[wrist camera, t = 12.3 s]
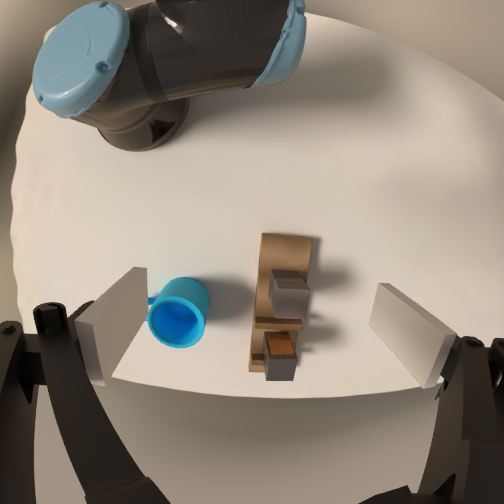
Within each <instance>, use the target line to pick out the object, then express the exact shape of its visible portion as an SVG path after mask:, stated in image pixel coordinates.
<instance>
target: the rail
mask: <svg viewBox="0 0 504 504" xmlns="http://www.w3.org/2000/svg"><path fill="white" fill-rule="evenodd" d="M311 245H312V239H311V238H309V237H300V236H288V235H276V234H264V233H262V236H261V246H260V257H259V267H258V277H257V288H256V298H255V308H254V318H253V328H252V338H251V347H250V357H249V372H265V370H264V364H263V357H262V345H263V336H264V331H266V332H288V333H289V336H290V339H291V342H292V345H293V347H294V350H295V347H296V341H297V336H298V330H302V328H303V323H302V321H301V318H305V315H306V310H307V304H308V297H309V291H310V289H309V288H308V287H307V285H306V281H307V274H308V267H309V260H310V252H311Z"/></svg>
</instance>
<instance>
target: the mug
mask: <svg viewBox="0 0 504 504" xmlns="http://www.w3.org/2000/svg"><path fill="white" fill-rule="evenodd" d="M152 304H153V305H152ZM209 304H210V300H209V295H208V293H207V291H206V289H205V288H204V287H203V286H202V285H201V284H200V283H199V282H197V281H196V280H194V279H191V278H186V277H182V278H176V279H174V280H171V281H170V282H169V283H168V284H166V285H165V287H164V288H163V290H162V291H161V293H160V294H159V296H158V297H149V298H148V305H152V306H151V308H150V310H149V314H148V316H147V318H146V319H145V321H148V324H149V328H150V330H151V332H152V333H153V335H154V336H155V337H156V338H157V339H158V340H159V341H160V342H161V343H163V344H165V345H167V346H170V347H174V348H186V347H189V346H192V345H194V344H195V343H197V342H198V341H199V340H200V338H201V337H202V335H203V333H204V328H205V324H206V319H207V314H208V309H209Z"/></svg>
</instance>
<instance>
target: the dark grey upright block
mask: <svg viewBox="0 0 504 504" xmlns="http://www.w3.org/2000/svg"><path fill="white" fill-rule="evenodd" d="M262 357H263V364H264V370H265V377H266V381H293V379H294V374H295V369H296V364H297V356H296V353H295V350H294V347H293V345H292V342H291V339H290V336H289V333H288V332H266V331H264V336H263V345H262Z"/></svg>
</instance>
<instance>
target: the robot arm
mask: <svg viewBox="0 0 504 504" xmlns="http://www.w3.org/2000/svg"><path fill="white" fill-rule="evenodd" d="M304 11H305V3H304V0H155V2H151V3H148V4H145V5H141V6H138V7H134V8H131V9H128V10H125V9H124V8H123V7H122V6H120V5H118V4H115V3H108V2H106V1H99V2H94V3H90V4H87V5H85V6H83V7H81V8H79V9H77V10H76V11H74V12H73V13H71V14H70V15H68V16H67V17H66V18H65V19H64V20H63V21H62V22H60V23H59V24H58V25H57V26H56V27H55V29H54V30H53V31H52V32H51V34H50V35H49V37H48V39H47V40H46V42H45V43H44V44H43V46H42V48H41V50H40V52H39V54H38V56H37V59H36V62H35V66H34V71H33V90H34V93H35V96H36V98H37V100H38V102H39V103H40V104H41V105H42V106H43V107H44V108H46V109H47V110H49V111H52V112H54V113H55V114H56V115H57V116H58V117H61V118H65V119H66V118H69V119H72V120H75V121H78V122H81V123H84V124H87V125H90V126H93V127H96V128H97V129H98V131H99V133H100V134H101V136H102V137H103V138H104V139H105V140H106V141H107V142H108V143H109V144H111V145H113V146H114V147H116V148H119V149H123V150H126V151H132V152H140V151H146V150H150V149H153V148H155V147H157V146H159V145H161V144H163V143H164V142H166V141H167V140H168V139H169V138H170V137H172V136H173V135H174V134H175V132H176V131H177V130H178V129H179V127H180V126H181V124H182V123H183V121H184V119H185V116H186V113H187V110H188V105H189V97H191V96H196V95H201V94H206V93H212V92H218V91H224V90H231V89H238V88H243V89H252V88H254V87H256V86H262V85H269V84H276V83H280V82H283V81H284V80H285V79H286V78H288V77H290V76H291V75H292V74H293V72H294V71H295V69H296V67H297V66H298V63H299V61H300V58H301V55H302V52H303V48H304V43H305V37H306V17H305V16H304ZM148 314H149V312H148V290H147V268H140V267H133V268H132V269H131V270H130V271H129V272H127V273H126V274H125V275H124V276H123V277H122V278H121V279H119V280H118V281H117V282H116V283H115V284H114V285H113V286H111V287H110V288H109V289H108V290H107V291H106V292H105V293H104V294H102V295H101V296H100V297H99V298H98V299H97V300H96V301H93V300H92V301H89V302H87V303H85V304H83V305H82V306H81V307H79V308H78V310H76V311H75V312H74V313H73V314H71V315H70V316H69V317H68V318H67V314H66V308H65V306H64V305H63V304H61V303H56V302H49V303H44V304H41V305H38V306H37V307H36V308H34V310H33V315H34V320H35V324H36V329H37V333H38V334H24V331H23V327H22V325H21V323H19V322H17V321H5V322H2V323H1V324H0V504H36V496H35V483H34V482H35V481H34V431H35V417H36V406H37V397H38V389H39V385H47V388H48V392H49V396H50V400H51V404H52V407H53V411H54V414H55V418H56V421H57V424H58V427H59V430H60V433H61V436H62V439H63V442H64V445H65V447H66V450H67V453H68V455H69V458H70V460H71V463H72V465H73V468H74V470H75V472H76V474H77V477H78V479H79V481H80V483H81V486H82V488H83V490H84V492H85V495H86V496H85V500H86V502H87V504H171V503H170V502H169V501H168V500H167V498H166V497H165V496H164V495H163V493H162V492H161V491H160V490H159V488H158V487H157V486H156V485H155V483H154V482H153V481H152V480H151V479H150V478H149V477H145V475H144V474H143V473H142V472H141V470H140V469H139V468H138V466H137V464H136V463H135V462H134V460H133V458H132V457H131V455H130V454H129V452H128V451H127V449H126V448H125V446H124V444H123V443H122V441H121V439H120V438H119V436H118V434H117V432H116V431H115V429H114V427H113V425H112V424H111V422H110V420H109V418H108V416H107V414H106V412H105V411H104V409H103V407H102V405H101V403H100V401H99V399H98V397H97V395H96V393H95V391H94V388H93V386H92V384H91V383H94V384H98V385H102V386H106V384H107V382H108V381H109V379H110V377H111V375H112V374H113V372H114V370H115V369H116V367H117V365H118V363H119V362H120V360H121V358H122V357H123V355H124V353H125V352H126V350H127V348H128V347H129V345H130V343H131V342H132V340H133V339H134V337H135V335H136V334H137V332H138V330H139V329H140V327H141V326H142V324H143V322H144V321H145V319H146V318H147V316H148ZM369 326H370V327H371V328H372V329H373V330H374V332H375V333H376V334H377V335H378V336H379V337H380V338H381V340H382V341H383V342H384V343H385V344H386V345H387V347H388V348H389V349H390V350H391V351H392V352H393V354H394V355H395V356H396V357H397V358H398V359H399V361H400V362H401V363H402V364H403V365H404V366H405V368H406V369H407V370H408V371H409V372H410V374H411V375H412V376H413V377H414V378H415V380H416V381H417V382H418V383H419V384H420V386H421V387H422V388H429V387H433V386H435V385H436V383H437V381H438V379H439V376H440V375H441V376H442V377H443V378H444V381H443V383H442V385H441V387H440V389H439V391H438V393H437V395H436V397H435V399H437V398H438V397H439V396H440V398H439V405H438V411H437V417H436V423H435V428H434V433H433V438H432V443H431V447H430V451H429V455H428V459H427V463H426V467H425V470H424V474H423V477H422V480H421V483H420V487H419V490H418V492H417V493H411V491H410V490H409V488H408V486H407V485H406V486H403V487H400V488H397V489H394V490H391V491H388V492H385V493H381V494H377V495H375V496H373V497H371V498H369V499H367V500H365V501H363V502H361V503H359V504H504V338H495V339H494V340H493V342H492V345H491V347H485V346H484V344H483V343H482V341H480V340H478V339H477V338H475V337H470V336H464V337H462V338H460V337H459V336H458V335H457V333H456V332H454V331H453V330H452V329H450V328H449V327H448V326H447V325H445V324H444V323H443V322H441V321H440V320H439V319H437V318H436V317H435V316H433V315H432V314H431V313H429V312H428V311H427V310H425V309H424V308H423V307H421V306H420V305H418V304H417V303H416V302H414V301H413V300H412V299H410V298H409V297H407V296H406V295H405V294H403V293H402V292H401V291H399V290H398V289H396V288H395V287H394V286H392V285H391V284H389V283H378V288H377V292H376V297H375V301H374V305H373V309H372V314H371V317H370V321H369ZM501 375H502V377H501ZM500 377H501V381H500V383H499V385H497V382H498V380H499V379H500Z"/></svg>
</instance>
